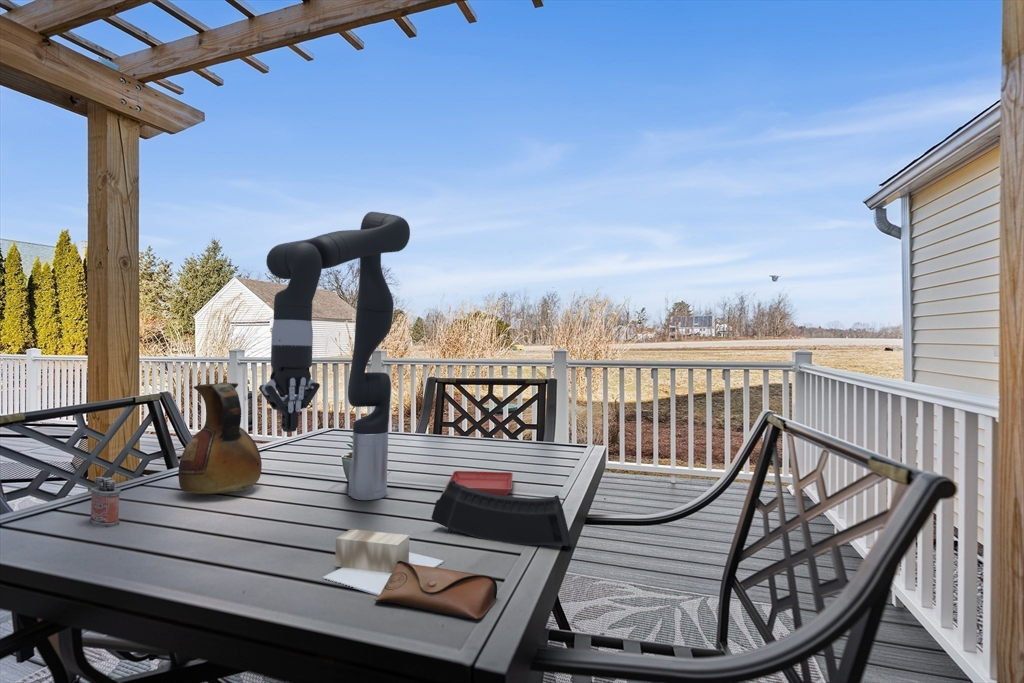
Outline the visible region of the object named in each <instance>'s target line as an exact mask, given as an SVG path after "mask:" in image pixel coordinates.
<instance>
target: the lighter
mask: <svg viewBox="0 0 1024 683" xmlns="http://www.w3.org/2000/svg"><path fill="white" fill-rule="evenodd" d="M94 483H95V484H97V485H98V486H96V487H91V488H90V493H91V500H90V501H91V505H90V506H91V508H90V517H89V524H90V525H92V526H95V527H99V528H115V527H117V526H119V525H120V519H119V515H120V514H119V512H120V495H121V489H119V488H116V487H115V486H116V480H114V479H113V478H112V477H111V476H109V477H103V476H96V478H94Z"/></svg>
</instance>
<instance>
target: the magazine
mask: <svg viewBox="0 0 1024 683" xmlns="http://www.w3.org/2000/svg"><path fill="white" fill-rule="evenodd" d="M448 482H449V481H448ZM430 517H431V518H430V519H431V520H432V522H435V523H436V524H439V525H440V526H442V527H445V528H447V531H446V533H449V531H450V532H451V531H455V532H459V533H461V534H464V535H468V536H471V537H474V538H478V539H482V540H486V541H492V542H498V543H500V542H501V543H505V544H513V545H525V546H564V547H568V546H570V544H571V543H572V541H571V540H572V539H571V535H570V531H569V527H568V523H567V520H566V515H565V512H564V508H563V505H562V502H561V499H560V496H559V495H557V494H556V495H555V496H550V497H539V498H538V497H537V498H536V497H535V498H531V497H519V496H508V495H506V496H500V495H495V494H490V493H485V492H481V491H477V490H474V489H471V488H468V487H465V486H463V485H459V484H457V483H455V481H454V480H452V481H450V482H449V484H446V485H445V487H444V489H443V491H442V493H441V495H440V497H439V499H436V501H435V504H434V507H433V511H432V515H431V516H430Z"/></svg>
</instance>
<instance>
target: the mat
mask: <svg viewBox="0 0 1024 683" xmlns="http://www.w3.org/2000/svg"><path fill="white" fill-rule="evenodd" d="M409 563H411V564H415V565H422V566H429V567H436V568H438V567H439V566H440V564H441V565H442V564H444V563H445V560H442V559H438V558H435V557H431V556H426V555H421V554H419V553H414V552H410V551H409ZM391 574H392V573H386V572H378V571H369V570H361V569H353V568H345V567H339V568H338V569H337V570H334V571H332V572H330V573H328V574H326V575H324V576H322V579H323V580H325V579H327V580H326V581H328V580H330V581H329V582H332V581H333V583H335V582H337V583H336V584H338V583H341V584H340V585H342V584H344V585H343V586H345V585H347V586H346V587H348V586H350V587H349V588H351V587H353V588H352V589H355V590H359V591H361V592H365V593H369V594H371V595H375V596H377V597H378V596H379V595H380V594H381V592H382V590H383V588H384V586H385V585H386V583H387V581H388V579H389V577H390V576H391Z"/></svg>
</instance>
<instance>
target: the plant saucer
mask: <svg viewBox="0 0 1024 683" xmlns="http://www.w3.org/2000/svg"><path fill="white" fill-rule="evenodd" d="M513 475H514V473H513V472H510V471H509V472H505V471H504V472H502V471H501V472H500V471H471V470H454V471H453V473H452V474H451V476H450V478H449V480H448V481H447V484H449V482H450V481H452V480H454V481H455V483H457V484H459V485H463V486H465V487H468V488H471V489H474V490H477V491H481V492H485V493H490V494H495V495H500V496H508V494H510V492H511V491H512V489H513V479H514V478H513V477H514V476H513ZM447 484H446V485H447Z"/></svg>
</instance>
